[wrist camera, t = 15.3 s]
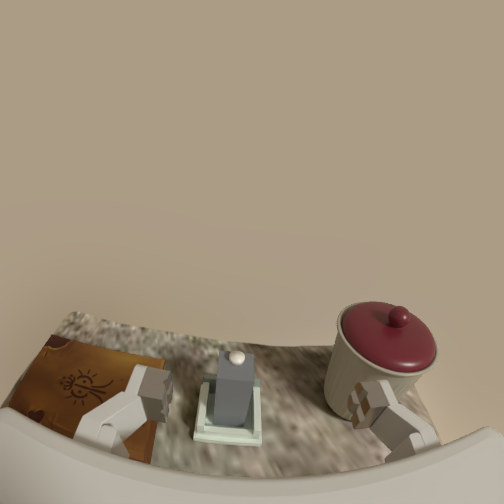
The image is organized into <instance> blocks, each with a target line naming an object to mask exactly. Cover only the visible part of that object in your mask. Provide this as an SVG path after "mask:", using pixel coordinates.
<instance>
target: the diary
mask: <svg viewBox="0 0 504 504" xmlns="http://www.w3.org/2000/svg"><path fill="white" fill-rule="evenodd" d="M137 364H139V365H144V366H148V367H153V368H157V369H162V370H163V369H164V365H165V359H158V358H152V357H146V356H140V355H135V354H129V353H124V352H119V351H115V350H110V349H105V348H101V347H97V346H92V345H88V344H84V343H80V342H77V341H73V340H69V339H65V338H62V337H58V336H55V335H51V337H50V338H49V339H48V341H47V342H46V344H45V345H44V347H43V348H42V350H41V351H40V353H39V354H38V356H37V357H36V359H35V360H34V362H33V364H32V365H31V367H30V368H29V370H28V372H27V373H26V375H25V376H24V378H23V380H22V381H21V383H20V385H19V387H18V388H17V390H16V392H15V394H14V395H13V397H12V399H11V401H10V403H9V407H10V408H12V409H14V410H16V411H18V412H19V413H21V414H23V415H24V416H26V417H28V418H30V419H31V420H33V421H35V422H37V423H39V424H41V425H43V426H45V427H47V428H49V429H51V430H53V431H55V432H57V433H59V434H62V435H64V436H66V437H68V438H71V439H73V438H74V435H75V433H76V430H77V428H78V426H79V423H80V421H81V419H82V417H83V416H84V415H85V414H87V413H88V412H90V411H92V410H93V409H95V408H96V407H98V406H100V405H101V404H103V403H104V402H106V401H107V400H109V399H111V398H112V397H114V396H115V395H117V394H118V393H120V392H121V391H122V392H125V390H126V387H127V384H128V382H129V379H130V377H131V374H132V372H133V370H134V367H135V366H136V365H137ZM157 423H158V421H153V420H148V419H147V421H146V422H145V423H144V424H142V425H141V426H140V427H139V428H138V429H137V430H136V431H135V432H133V433H132V434H131V435H130V436H129V437H128V438H127V439H126V440H124V441H123V444H124V446H125V447H126V449H127V451H128V453H129V454H130V455H129V459H131V460H135V461H139V462H143V463H147V464H150V462H151V456H152V450H153V445H154V439H155V434H156V428H157Z"/></svg>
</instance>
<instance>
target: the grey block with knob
mask: <svg viewBox="0 0 504 504" xmlns="http://www.w3.org/2000/svg"><path fill="white" fill-rule="evenodd" d="M254 382H255V375H254V354H250V353H242V352H241V351H232V352H229V351H221V350H220V353H219V362H218V371H217V381H216V393H215V405H214V418H213V425H222V426H234V427H243V426H244V423H245V419H246V415H247V411H248V407H249V403H250V399H251V395H252V391H253V386H254Z"/></svg>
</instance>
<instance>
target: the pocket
mask: <svg viewBox="0 0 504 504" xmlns="http://www.w3.org/2000/svg"><path fill="white" fill-rule="evenodd" d="M216 381H217V375H213V374H205V373H204V377H203V384H201V389H200V395H199V402H198V409H197V416H196V423H195V430H194V437H193V440H194V441H201V442H209V443H218V444H229V445H244V446H261V444H262V439H261V407H260V384H261V381H260V379H255V382H254V386H253V391H252V395H251V399H250V403H249V407H248V411H247V415H246V419H245V423H244V426H243V427H234V426H222V425H213V418H214V405H215V393H216Z"/></svg>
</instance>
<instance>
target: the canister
mask: <svg viewBox="0 0 504 504" xmlns="http://www.w3.org/2000/svg"><path fill="white" fill-rule="evenodd" d="M337 330H338V333H337V337H336V340H335V344H334V348H333V352H332V355H331V359H330V362H329V366H328V369H327V373H326V377H325V382H324V395H325V399H326V401H327V404H328V405H329V406H330V408H331V409H332V410H333V411H334V412H335V413H337V415H339V416H341V417H342V418H345V419H346V420H350V421H351V417H352V415H353V414H352V413H350V412H349V410H348V407H347V401H348V397H349V395H350V393H351V392H353V391H354V390H355V388H354V386H355V385H356V383H358V382H363V381H375V380H376V381H377V380H387V381H388V382H389V384H390V386H391V388H392V391H393V393H394V395H395V397H396V399H397V402H398V401H399V400H400V399H401V398H402V397H403V396H404V395H405V394H406V392H407V391H408V390H409V389H410V388H411V387H412V386H413V385H414V384H415V383H416V382H417V380H418V379H419V378H420V377H421V376H422V374H424V373H426V372H428V371H429V370H430V369H432V368H433V367H434V365H435V364H436V362H437V360H438V356H439V349H438V345H437V342H436V340H435V338H434V336H433V334H432V333H431V332H430V330H429V329H428V327H427V326H426V325H425V324H424V323H423V322H422V321H421V320H420V319H419V318H417V317H416V316H415V315H413V314H411V313H410V312H409V311H408V310H407V309H406V308H404V307H402V306H394V305H392V304H388V303H383V302H360V303H355V304H351V305H349V306H347V307H346V308H344V309H343V310H342V311H341V313H340V314H339V316H338V319H337Z"/></svg>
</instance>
